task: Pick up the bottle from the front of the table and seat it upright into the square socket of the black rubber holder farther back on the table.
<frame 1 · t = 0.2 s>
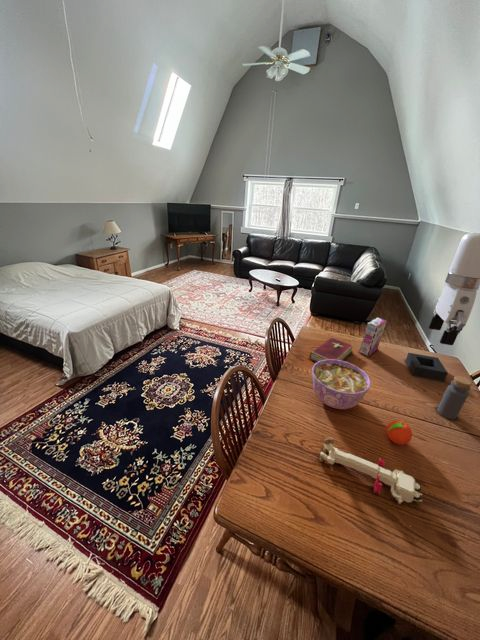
hand: (439, 336, 80), 32 cm above the table, tool pointing down, fingers open, 9 cm apart
bottle: (446, 413, 96), on the table
clementine: (394, 440, 85), on the table
candy bar box: (368, 351, 134), on the table
bowl of food: (334, 400, 100), on the table
holder: (423, 370, 120), on the table
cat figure: (366, 477, 73), on the table
hardcover book: (331, 355, 128), on the table
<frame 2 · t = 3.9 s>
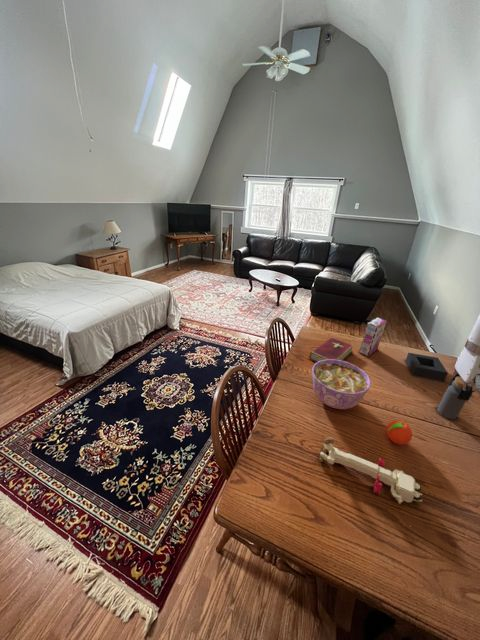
hand: (458, 392, 92), 10 cm above the table, tool pointing down, fingers closed on bottle, 5 cm apart
bottle: (446, 413, 96), on the table, touching gripper
everything else where it was.
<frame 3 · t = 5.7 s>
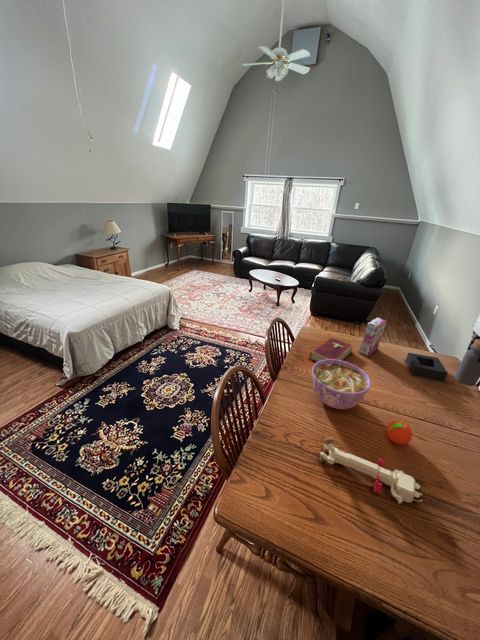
hand: (477, 356, 85), 25 cm above the table, tool pointing down, fingers closed on bottle, 5 cm apart
bottle: (464, 380, 90), point 15 cm above the table, touching gripper
everything else where it was.
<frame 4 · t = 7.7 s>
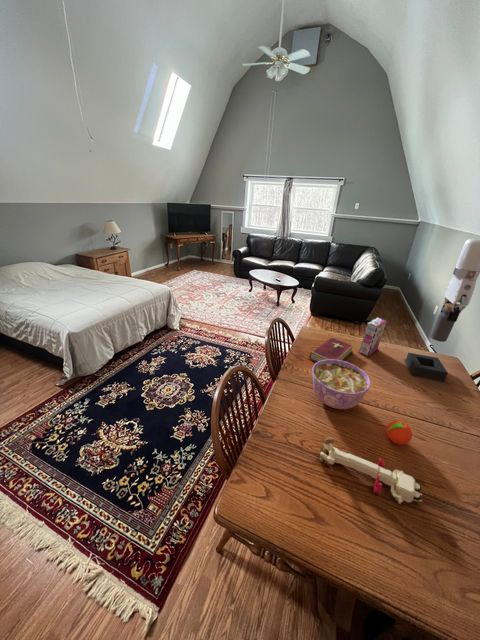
hand: (447, 317, 107), 27 cm above the table, tool pointing down, fingers closed on bottle, 5 cm apart
bottle: (437, 338, 112), point 17 cm above the table, touching gripper
everything else where it was.
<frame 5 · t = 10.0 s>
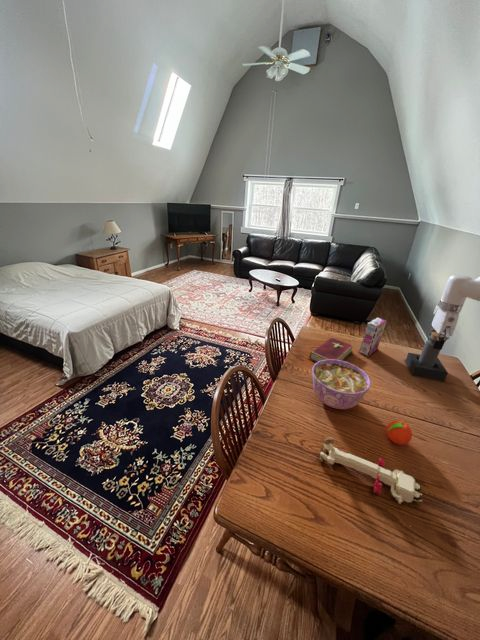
hand: (434, 344, 114), 13 cm above the table, tool pointing down, fingers closed on bottle, 5 cm apart
bottle: (425, 363, 119), point 3 cm above the table, touching gripper
everything else where it was.
when the fingers open (10 cm above the table, at t = 11.7 s): bottle stays where it is, resting in holder.
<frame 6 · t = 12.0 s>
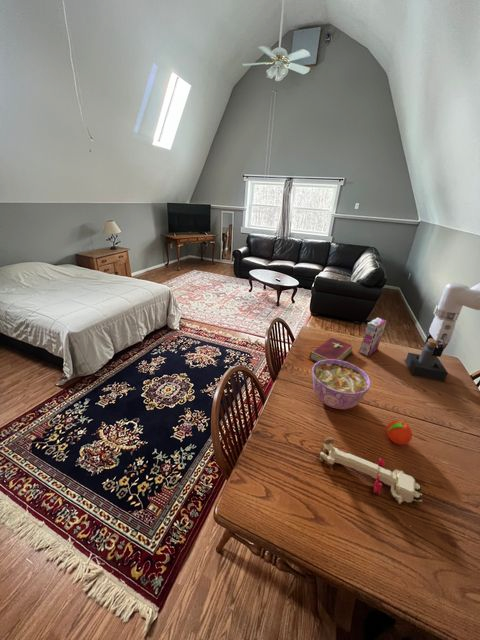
hand: (432, 350, 116), 11 cm above the table, tool pointing down, fingers open, 9 cm apart
bottle: (422, 370, 121), resting in holder
everything else where it was.
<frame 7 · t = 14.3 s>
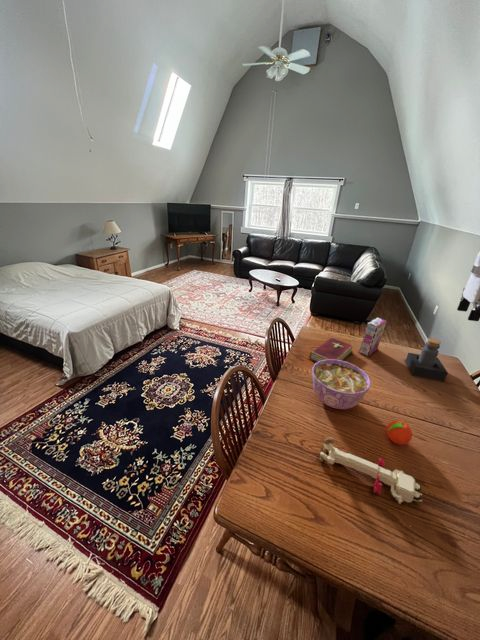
hand: (467, 315, 102), 30 cm above the table, tool pointing down, fingers open, 9 cm apart
nothing on the table moved.
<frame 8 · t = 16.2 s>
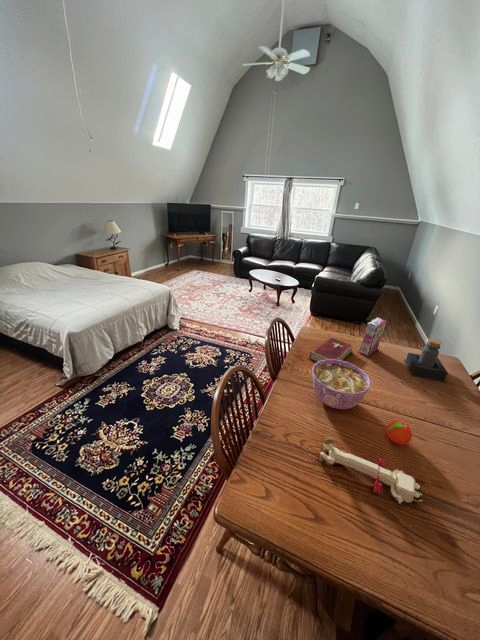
nothing on the table moved.
at the end: bottle 0.4 cm off-centre in the holder, point 0.0 cm above the holder's base; bottle tilted 1°; the gripper is holding nothing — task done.
